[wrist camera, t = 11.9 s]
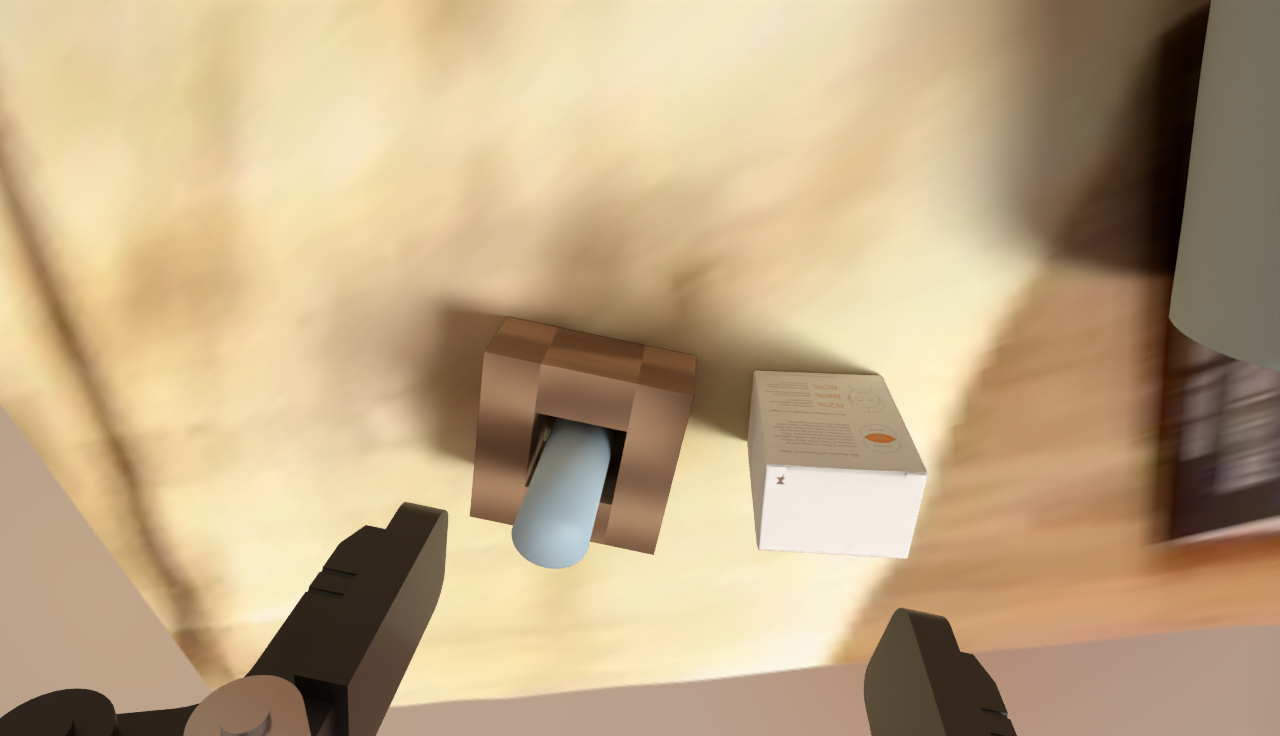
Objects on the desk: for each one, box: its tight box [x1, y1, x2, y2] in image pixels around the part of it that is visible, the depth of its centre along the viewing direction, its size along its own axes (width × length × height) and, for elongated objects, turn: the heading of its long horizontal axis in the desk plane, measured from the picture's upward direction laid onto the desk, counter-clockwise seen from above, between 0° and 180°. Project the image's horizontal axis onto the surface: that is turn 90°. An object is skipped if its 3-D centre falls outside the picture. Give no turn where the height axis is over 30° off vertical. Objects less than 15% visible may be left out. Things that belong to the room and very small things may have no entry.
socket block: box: [470, 317, 696, 555], centre depth 44 cm, size 12×12×5 cm
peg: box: [512, 417, 617, 569], centre depth 41 cm, size 4×4×12 cm
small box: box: [747, 370, 928, 559], centre depth 40 cm, size 8×6×10 cm
